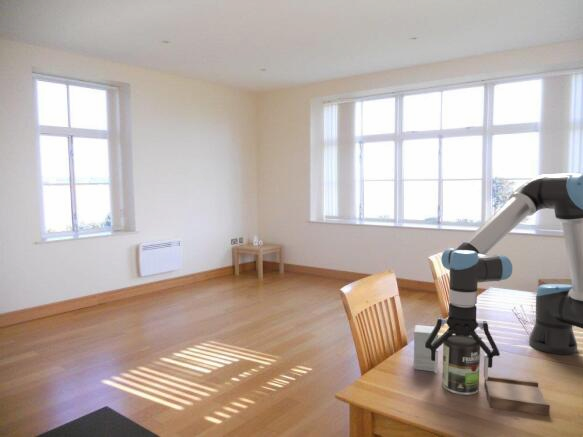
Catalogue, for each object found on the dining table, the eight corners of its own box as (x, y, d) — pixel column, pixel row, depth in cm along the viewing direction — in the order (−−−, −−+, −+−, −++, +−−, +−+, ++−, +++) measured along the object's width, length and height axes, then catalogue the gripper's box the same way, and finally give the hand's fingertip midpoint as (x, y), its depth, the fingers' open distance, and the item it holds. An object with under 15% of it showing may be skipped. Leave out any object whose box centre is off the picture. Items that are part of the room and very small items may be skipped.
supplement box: (437, 363, 145) (438, 326, 144) (437, 372, 138) (438, 333, 137) (414, 360, 148) (415, 324, 146) (413, 369, 141) (413, 331, 140)
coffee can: (487, 391, 126) (488, 343, 125) (460, 398, 122) (461, 349, 120) (460, 376, 135) (461, 332, 134) (434, 382, 131) (435, 337, 130)
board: (537, 391, 126) (537, 381, 125) (549, 415, 112) (549, 405, 112) (484, 384, 130) (484, 375, 130) (490, 407, 117) (490, 397, 116)
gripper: (507, 304, 126) (505, 374, 128) (418, 297, 134) (416, 364, 135) (512, 311, 119) (509, 386, 121) (417, 303, 127) (416, 374, 128)
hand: (460, 374), depth 128 cm, fingers open, 13 cm apart
